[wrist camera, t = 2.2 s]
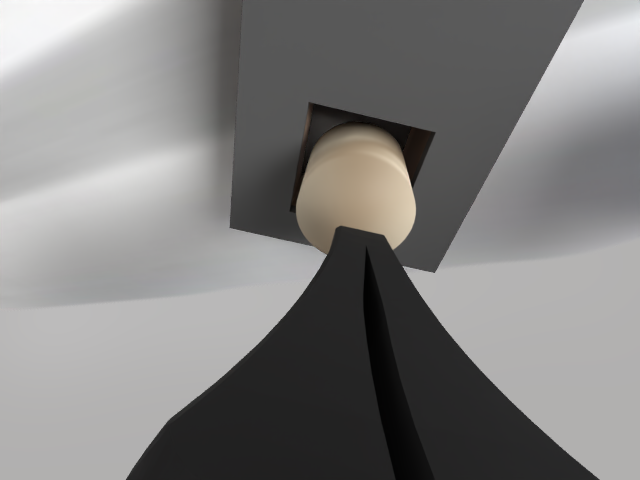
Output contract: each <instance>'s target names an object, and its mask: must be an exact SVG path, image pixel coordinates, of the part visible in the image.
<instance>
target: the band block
mask: <svg viewBox="0 0 640 480" xmlns="http://www.w3.org/2000/svg"><path fill="white" fill-rule="evenodd" d="M583 1H584V0H242V18H241V36H240V54H239V72H238V90H237V108H236V126H235V143H234V161H233V179H232V197H231V215H230V228H232V229H237V230H241V231H246V232H251V233H255V234H260V235H264V236H269V237H273V238H278V239H283V240H287V241H292V242H296V243H301V244H305V245H310V246H313V245H312V244H311V243H310V242H309V241H308V240H307V239H306V237H305V236H304V235H303V233H302V231H301V229H300V227H299V224H298V221H297V216H296V204H297V199H298V195H299V192H300V188H301V185H302V182H303V178H304V175H305V174H304V173H301V172H302V167H303V161H304V156H305V151H306V145H307V140H308V135H309V129H310V124H311V118H312V113H313V108H314V103H315V104H319V105H323V106H327V107H332V108H336V109H340V110H344V111H348V112H353V113H357V114H361V115H365V116H369V117H374V118H378V119H382V120H386V121H390V122H395V123H399V124H403V125H407V126H411V127H412V128H411V130H410V133H409V136H408V138H407V141H406V144H405V147H404V149H403V152H402V153H403V156H404V160H405V164H406V168H407V172H408V175H409V179H410V183H411V187H412V191H413V195H414V199H415V204H416V216H415V221H414V224H413V226H412V229H411V231H410V232H409V234H408V236H407V237H406V238H405V240H404V241H403V242H402V243H401V244H400V245H398V246H397V247H396V248H395V249H393V251H394V253H395V255H396V256H397V258H398V260H399V262H400V263H401V265H402V266H406V267H410V268H415V269H419V270H424V271H429V272H433V273H435V271H436V270H437V268H438V266H439V264H440V262H441V261H442V259H443V257H444V255H445V253H446V251H447V250H448V248H449V246H450V244H451V242H452V241H453V239H454V237H455V235H456V233H457V231H458V230H459V228H460V226H461V224H462V222H463V220H464V219H465V217H466V215H467V213H468V211H469V209H470V208H471V206H472V204H473V202H474V200H475V199H476V197H477V195H478V193H479V191H480V189H481V188H482V186H483V184H484V182H485V180H486V178H487V177H488V175H489V173H490V171H491V169H492V167H493V166H494V164H495V162H496V160H497V158H498V157H499V155H500V153H501V151H502V149H503V147H504V146H505V144H506V142H507V140H508V138H509V136H510V135H511V133H512V131H513V129H514V127H515V125H516V124H517V122H518V120H519V118H520V116H521V114H522V113H523V111H524V109H525V107H526V105H527V104H528V102H529V100H530V98H531V96H532V94H533V93H534V91H535V89H536V87H537V85H538V83H539V82H540V80H541V78H542V76H543V74H544V72H545V71H546V69H547V67H548V65H549V63H550V62H551V60H552V58H553V56H554V54H555V52H556V51H557V49H558V47H559V45H560V43H561V41H562V40H563V38H564V36H565V34H566V32H567V30H568V29H569V27H570V25H571V23H572V21H573V20H574V18H575V16H576V14H577V12H578V10H579V9H580V7H581V5H582V3H583Z"/></svg>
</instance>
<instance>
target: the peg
mask: <svg viewBox="0 0 640 480" xmlns="http://www.w3.org/2000/svg"><path fill="white" fill-rule="evenodd" d="M296 216H297V221H298V224H299V227H300V229H301V231H302V233H303V235H304V236H305V237H306V239H307V240H308V241H309V242H310V243H311V244H312V245H313V246H314V247H315V248H317V249H318V250H320V251H321V252H323V253H325V254H328V252H329V250H330V247H331V243H332V240H333V236H334V233H335V229H336V228H337V227H339V226H346V227H350V228H355V229H359V230H364V231H368V232H373V233H377V234H382V235H384V236H385V237H386V239H387V241H388V243H389V244H390V246H391V248H392V249H395V248H396V247H397V246H398V245H400V244H401V243H402V242H403V241H404V240H405V238H406V237H407V236H408V234H409V232H410V231H411V229H412V226H413V224H414V221H415V216H416V204H415V199H414V195H413V191H412V187H411V183H410V179H409V175H408V172H407V168H406V164H405V160H404V156H403V153H402V150H401V148H400V145H399V144H398V142H397V141H396V139H395V138H394V137H393V136H392V135H391V134H390V133H389V132H388V131H386V130H385V129H383V128H381V127H379V126H377V125H375V124H371V123H367V122H348V123H343V124H340V125H338V126H335V127H333V128H332V129H330V130H328V131H327V132H326V133H324V134H323V135H322V136H321V137H320V138H319V140H318V141H317V142H316V144H315V145H314V147H313V149H312V152H311V154H310V158H309V161H308V164H307V168H306V171H305V175H304V178H303V182H302V185H301V188H300V192H299V195H298V199H297V204H296Z"/></svg>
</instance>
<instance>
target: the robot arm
mask: <svg viewBox="0 0 640 480" xmlns="http://www.w3.org/2000/svg"><path fill="white" fill-rule="evenodd" d="M126 480H599V479H598V478H597V477H596V476H594V475H593V474H592V473H591V472H590V471H588V470H587V469H586V468H585V467H583V466H582V465H581V464H580V463H579V462H577V461H576V460H575V459H574V458H573V457H571V456H570V455H569V454H568V453H567V452H566V451H564V450H563V449H562V448H561V447H560V446H559V445H558V444H556V443H555V442H554V441H553V440H552V439H551V438H550V437H549V436H547V435H546V434H545V433H544V432H543V431H542V430H541V429H540V428H539V427H538V426H537V425H535V424H534V423H533V422H532V421H531V420H530V419H529V418H528V417H527V416H526V415H524V413H523V412H521V411H520V410H519V409H518V408H517V407H516V406H515V405H514V404H513V403H512V402H511V401H510V400H509V399H508V398H507V397H506V396H505V395H504V394H503V393H502V392H501V391H500V390H499V389H498V388H497V387H496V386H495V385H494V384H493V383H492V382H491V381H490V380H489V379H488V378H487V377H486V376H485V375H484V373H482V371H480V369H479V368H478V367H477V366H476V365H475V364H474V363H473V362H472V360H471V359H470V358H469V357H468V356H467V355H466V354H465V353H464V351H463V350H462V349H461V348H460V347H459V345H458V344H457V343H456V342H455V341H454V339H453V338H452V337H451V336H450V335H449V333H448V332H447V331H446V330H445V328H444V327H443V326H442V325H441V323H440V322H439V321H438V319H437V318H436V316H435V315H434V314H433V312H432V311H431V310H430V308H429V307H428V305H427V304H426V303H425V301H424V300H423V298H422V297H421V295H420V294H419V292H418V291H417V289H416V288H415V286H414V285H413V283H412V282H411V280H410V279H409V277H408V275H407V273H406V272H405V270H404V268H403V267H402V265H401V263H400V262H399V260H398V258H397V256H396V255H395V253H394V251H393V249H392V248H391V246H390V244H389V243H388V241H387V239H386V237H385V236H384V235H382V234H377V233H373V232H368V231H364V230H359V229H355V228H350V227H346V226H339V227H337V228H336V229H335V233H334V236H333V240H332V243H331V247H330V250H329V252H328V254H327V256H326V258H325V260H324V262H323V263H322V265H321V267H320V269H319V270H318V272H317V273H316V275H315V276H314V278H313V279H312V281H311V282H310V284H309V285H308V287H307V288H306V290H305V291H304V292H303V294H302V295H301V296H300V298H299V299H298V300H297V302H296V303H295V304H294V305H293V306H292V308H291V309H290V310H289V311H288V312H287V314H286V315H285V316H284V317H283V318H282V319H281V320H280V321H279V323H278V324H277V325H276V326H275V327H274V328H273V329H272V330H271V331H270V332H269V334H267V335H266V337H265V338H264V339H263V340H262V341H261V342H260V343H259V344H258V345H257V346H256V347H255V348H253V349H252V350H251V351H250V352H249V353H248V354H247V355H246V356H245V357H244V358H243V359H241V361H239V362H238V363H237V364H236V365H235V366H234V367H233V368H232V369H231V370H229V371H228V372H227V373H226V374H225V375H224V376H223V377H222V378H220V379H219V380H218V381H217V382H216V383H215V384H213V385H212V386H211V387H210V388H208V389H207V390H206V391H205V392H203V393H202V394H201V395H200V396H198V397H197V398H196V399H194V400H193V401H192V402H191V403H190V404H188V405H187V406H186V407H185V408H183V409H182V410H181V411H179V412H178V413H177V414H176V415H174V416H173V417H172V418H171V419H170V420H169V421H168V422H167V423H166V424H165V425H164V427H163V428H162V429H161V431H160V432H159V433H158V435H157V436H156V437H155V438H154V440H153V441H152V442H151V444H150V445H149V446H148V448H147V449H146V450H145V452H144V453H143V455H142V456H141V458H140V459H139V460H138V462H137V463H136V465H135V466H134V468H133V469H132V471H131V472H130V474H129V476H128V477H127V479H126Z"/></svg>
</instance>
